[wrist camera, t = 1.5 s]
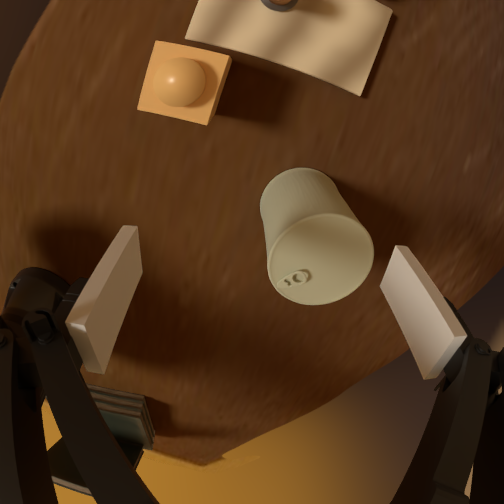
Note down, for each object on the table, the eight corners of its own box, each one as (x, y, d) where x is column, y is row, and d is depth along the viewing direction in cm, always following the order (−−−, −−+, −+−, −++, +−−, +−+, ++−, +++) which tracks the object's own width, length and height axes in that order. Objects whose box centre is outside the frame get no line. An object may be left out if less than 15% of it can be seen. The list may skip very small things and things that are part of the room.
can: (244, 194, 34) (244, 253, 24) (317, 152, 31) (353, 194, 21) (285, 253, 38) (299, 323, 28) (351, 217, 36) (389, 279, 26)
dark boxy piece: (75, 412, 65) (54, 490, 44) (51, 371, 54) (17, 466, 33) (155, 430, 67) (144, 516, 46) (146, 393, 56) (126, 503, 35)
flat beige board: (187, 40, 24) (173, 32, 19) (222, -48, 19) (217, -72, 14) (356, 95, 28) (380, 101, 23) (388, 11, 22) (416, 3, 17)
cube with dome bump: (158, 101, 28) (133, 111, 21) (174, 47, 25) (152, 39, 18) (214, 114, 29) (205, 127, 22) (232, 60, 26) (228, 55, 19)
